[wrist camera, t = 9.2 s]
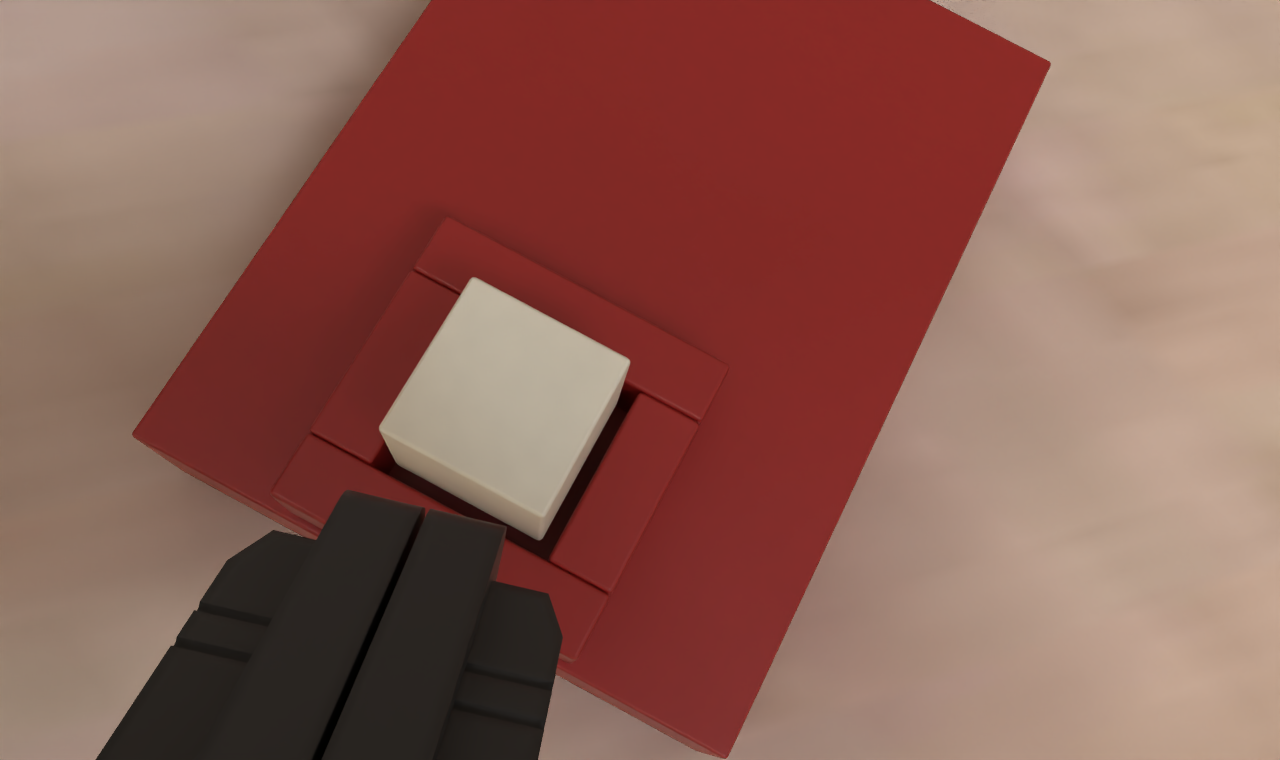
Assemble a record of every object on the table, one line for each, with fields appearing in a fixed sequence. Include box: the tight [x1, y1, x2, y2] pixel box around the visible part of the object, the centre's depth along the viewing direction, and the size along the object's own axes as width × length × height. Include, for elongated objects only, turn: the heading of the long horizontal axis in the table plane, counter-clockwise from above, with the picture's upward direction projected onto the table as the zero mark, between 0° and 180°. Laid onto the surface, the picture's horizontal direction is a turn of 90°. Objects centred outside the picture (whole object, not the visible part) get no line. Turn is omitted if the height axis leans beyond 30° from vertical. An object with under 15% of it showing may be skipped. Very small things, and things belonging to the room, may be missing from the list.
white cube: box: [379, 277, 630, 540], centre depth 18 cm, size 3×3×2 cm
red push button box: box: [132, 0, 1051, 759], centre depth 23 cm, size 12×16×5 cm
